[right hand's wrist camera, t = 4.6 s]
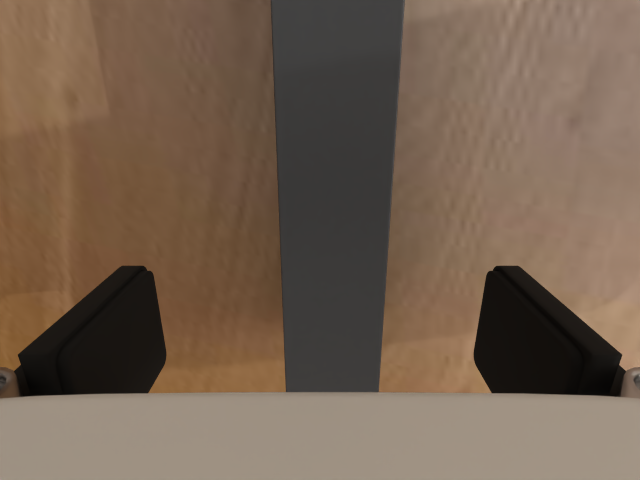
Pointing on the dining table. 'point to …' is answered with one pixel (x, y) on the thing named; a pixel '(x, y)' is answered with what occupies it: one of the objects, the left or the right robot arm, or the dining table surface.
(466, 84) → the dining table surface
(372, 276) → the post
